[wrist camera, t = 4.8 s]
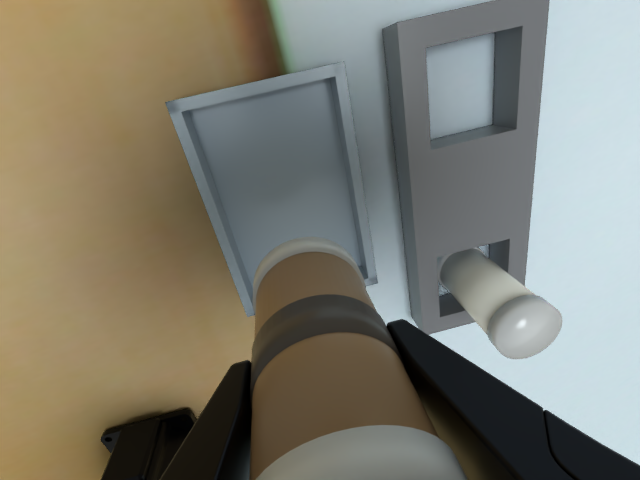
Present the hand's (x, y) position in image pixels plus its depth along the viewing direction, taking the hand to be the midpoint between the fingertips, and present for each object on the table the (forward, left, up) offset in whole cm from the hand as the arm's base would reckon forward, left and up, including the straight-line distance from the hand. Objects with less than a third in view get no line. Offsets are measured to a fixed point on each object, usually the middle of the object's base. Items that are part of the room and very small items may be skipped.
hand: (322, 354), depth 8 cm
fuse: (-7, -10, -12) cm, 17 cm away
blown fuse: (0, 0, -3) cm, 3 cm away
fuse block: (-2, -10, -12) cm, 16 cm away
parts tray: (0, 0, -12) cm, 12 cm away
